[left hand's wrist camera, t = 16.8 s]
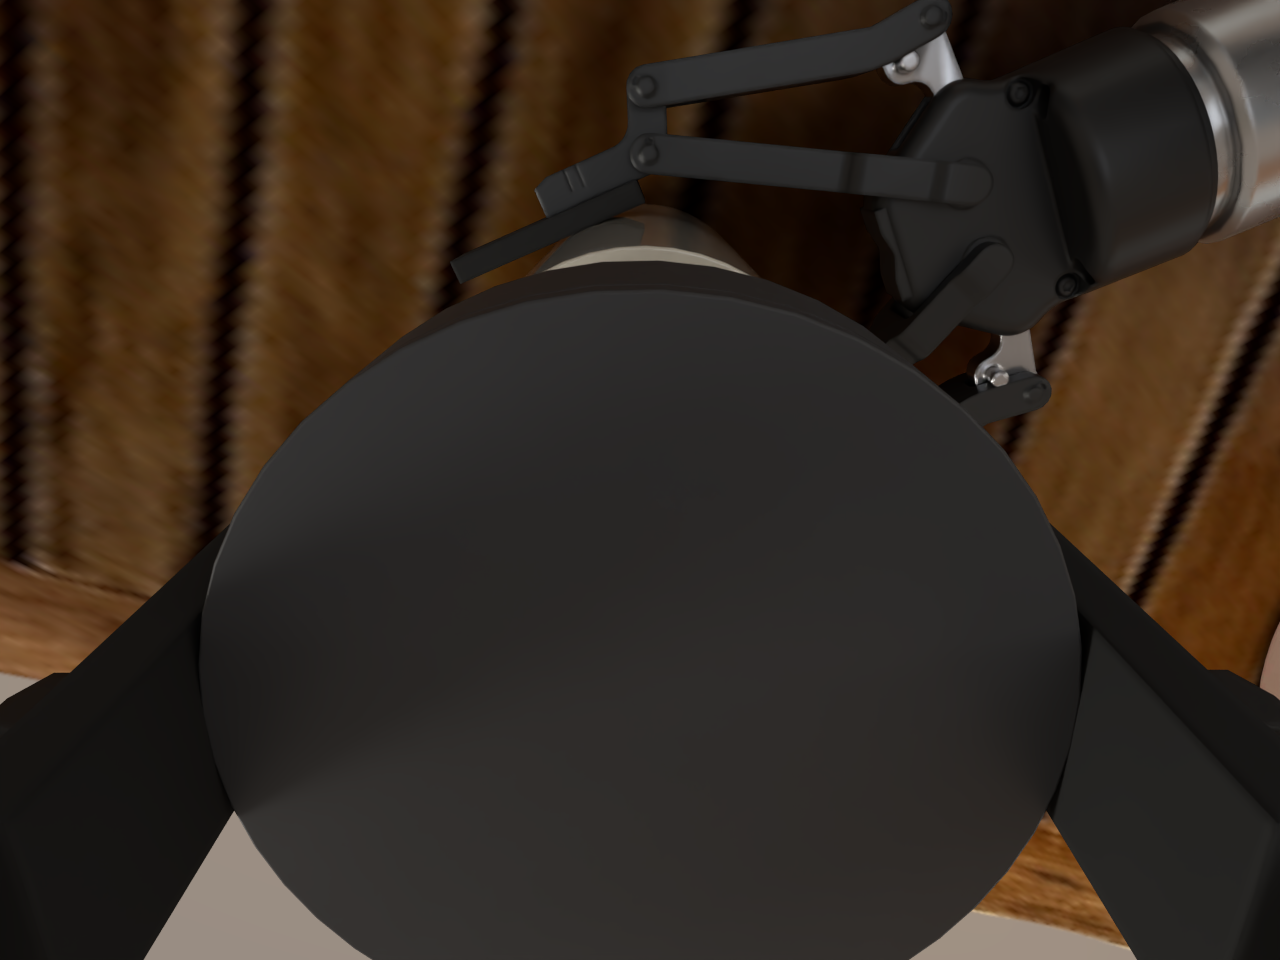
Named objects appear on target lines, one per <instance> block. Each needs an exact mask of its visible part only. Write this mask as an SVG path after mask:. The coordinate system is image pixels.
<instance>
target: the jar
mask: <svg viewBox="0 0 1280 960" xmlns="http://www.w3.org/2000/svg"><path fill="white" fill-rule="evenodd" d="M656 260H659V261H668V262H677V263H686V264H695V265H704V266H713V267H717V268H721V269H725V270H729V271H733V272H737V273H741V274H745V275H749V276H753V277H757V278H761V277H760V276H759V275H758V274H757V273H756V272H755V271H754V270H753V269H752V268H751V267H750V266H749V265H748V264H747V263H746V262H745V260H744V259H743V258H742V257H741V256H740V255H739V254H738V253H737V252H736V251H735V250H734V249H733V248H732V247H731V246H730V245H729V244H728V243H727V242H726V241H725V240H724V239H723V238H722V237H721V236H720V235H719V234H718V233H717V232H716V231H715V230H714V229H712V228H711V227H709V226H708V225H707V224H705V223H704V222H703V221H701V220H699V219H697V218H695V217H693V216H692V215H690V214H688V213H685V212H682V211H680V210H677V209H674V208H670V207H665V206H661V205H652V204H641V205H639V206H637V207H635V208H632V209H630V210H628V211H625V212H623V213H621V214H619V215H616V216H614V217H612V218H609V219H607V220H605V221H603V222H600V223H598V224H596V225H593V226H591V227H588V228H586V229H584V230H582V231H580V232H578V233H575V234H573V235H571V236H568V237H566V238H564V239H562V240H559V242H558V243H557V244H556V245H555V246H554V247H553V248H552V249H551V250H550V251H549V252H548V253H547V254H546V255H545V256H544V257H543V258H542V259H541V261H540V262H539V263H538V264H537V265H536V266H535V267H534V268H533V269H532V270H531V271H530V272H529V273H528V274H527V275H526V276H525V277H528V276H531V275H534V274H538V273H541V272H544V271H548V270H554V269H560V268H566V267H573V266H579V265H585V264H591V263H598V262H613V261H656ZM761 279H762V278H761Z"/></svg>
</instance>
